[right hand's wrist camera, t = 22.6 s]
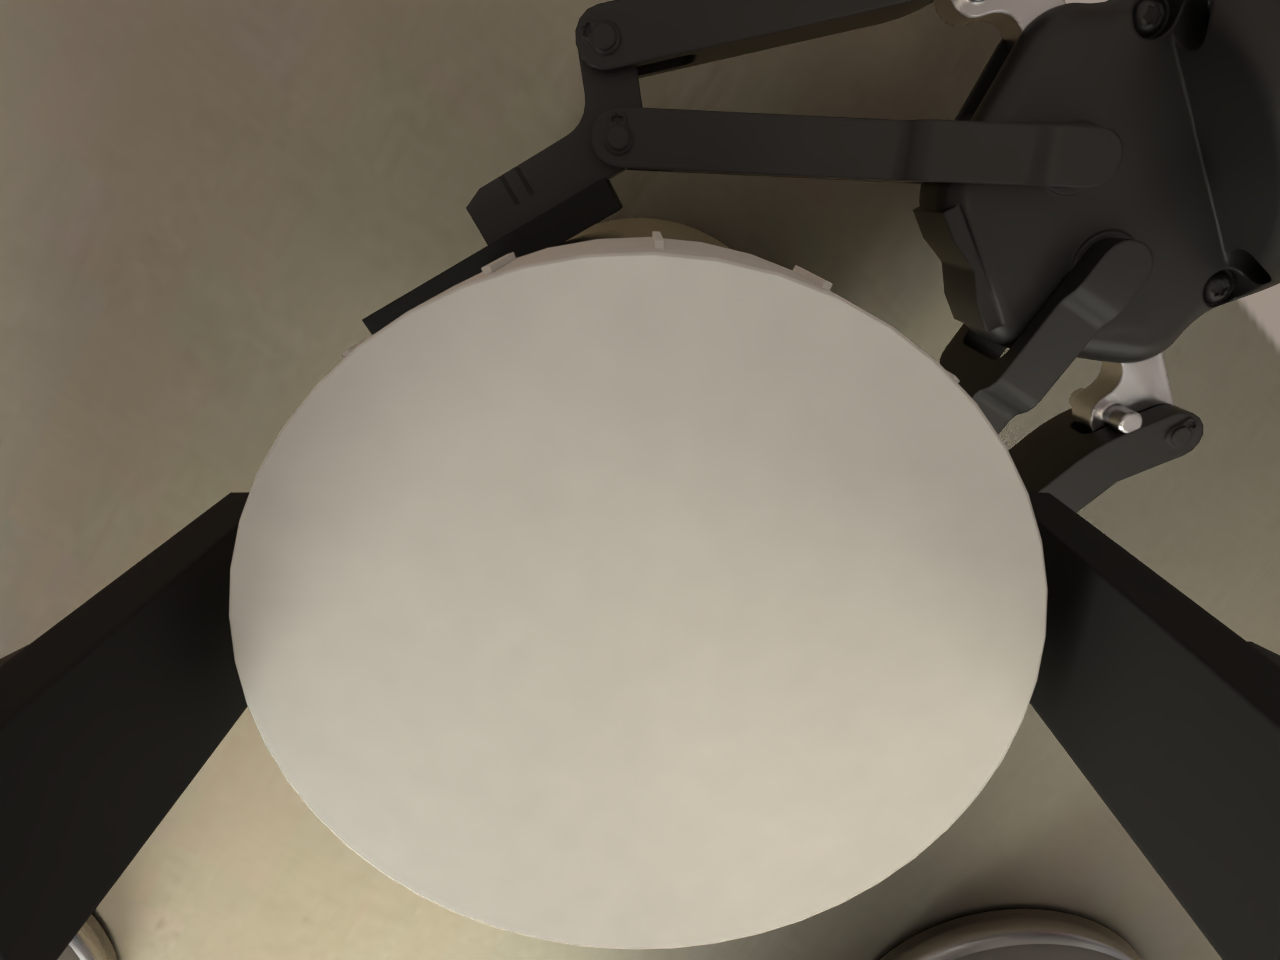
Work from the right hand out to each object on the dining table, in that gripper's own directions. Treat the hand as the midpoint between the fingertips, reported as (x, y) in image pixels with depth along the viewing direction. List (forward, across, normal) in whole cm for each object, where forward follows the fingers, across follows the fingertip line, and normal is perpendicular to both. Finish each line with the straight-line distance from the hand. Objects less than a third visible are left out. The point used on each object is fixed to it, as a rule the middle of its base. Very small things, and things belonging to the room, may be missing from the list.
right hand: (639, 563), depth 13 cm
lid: (-3, 0, 0) cm, 3 cm away
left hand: (+7, -4, -2) cm, 9 cm away
